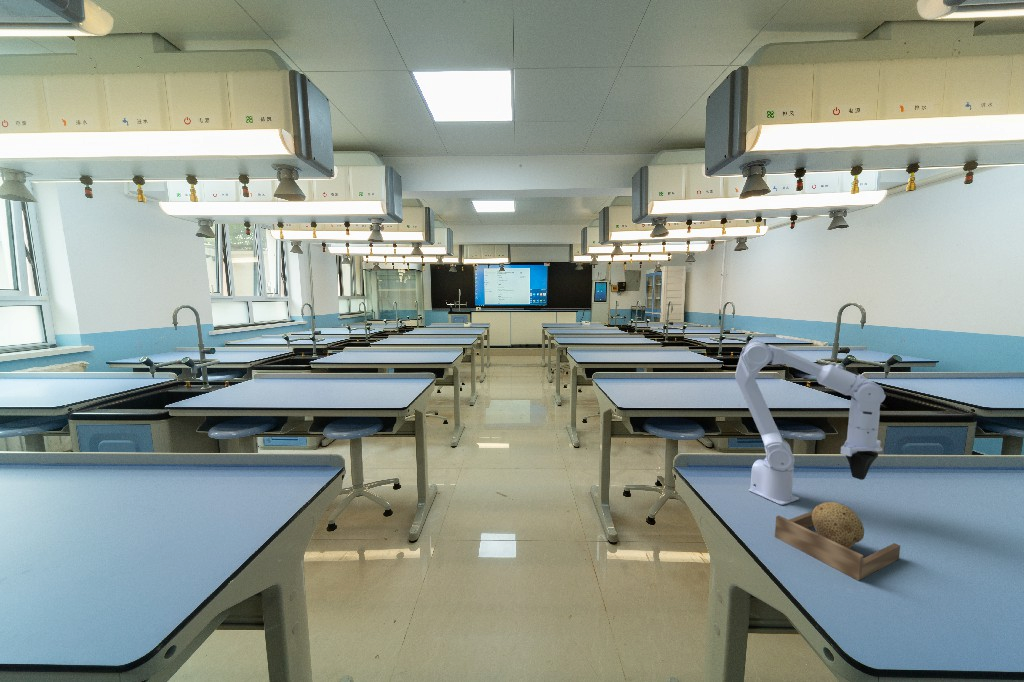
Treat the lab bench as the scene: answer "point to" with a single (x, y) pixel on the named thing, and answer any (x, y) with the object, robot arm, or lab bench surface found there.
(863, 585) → the lab bench surface
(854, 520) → the natural sponge
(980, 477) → the lab bench surface
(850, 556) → the wooden u-shaped fence
